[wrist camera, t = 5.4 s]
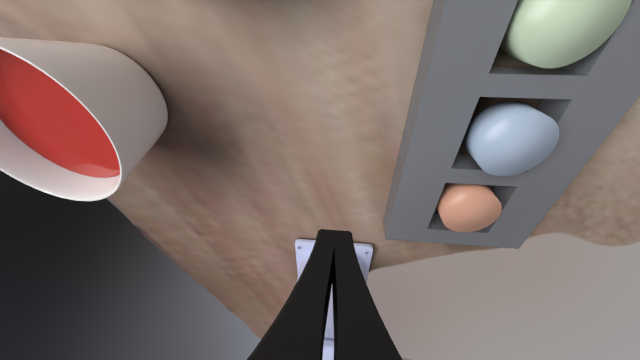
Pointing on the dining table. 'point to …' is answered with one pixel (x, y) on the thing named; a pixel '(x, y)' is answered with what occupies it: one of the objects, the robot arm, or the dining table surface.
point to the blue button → (510, 138)
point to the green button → (560, 29)
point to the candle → (75, 116)
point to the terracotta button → (468, 207)
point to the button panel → (510, 82)
